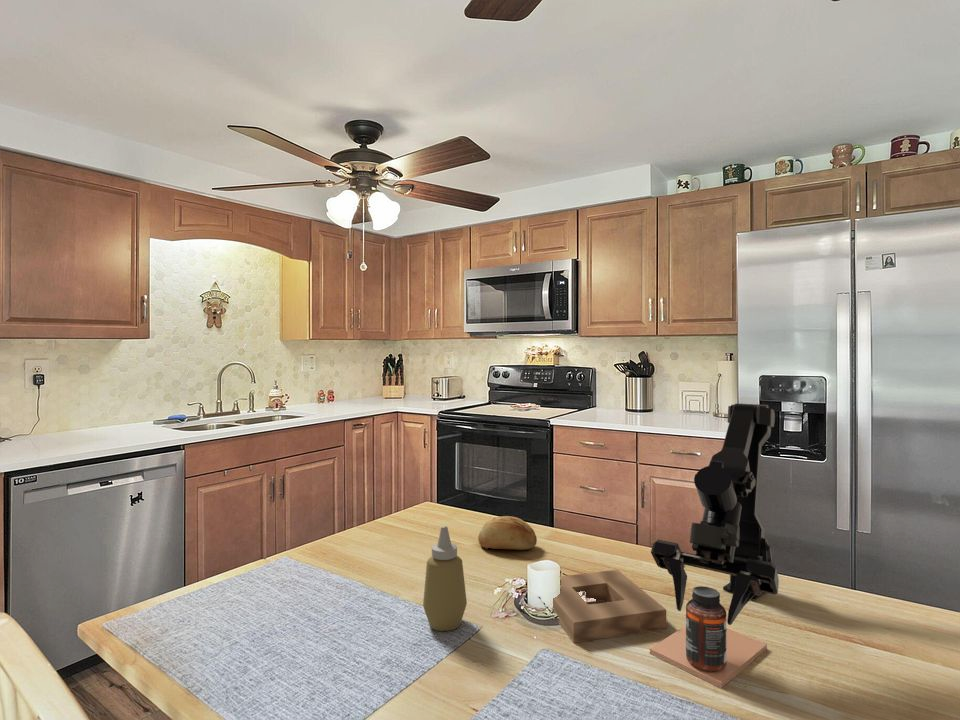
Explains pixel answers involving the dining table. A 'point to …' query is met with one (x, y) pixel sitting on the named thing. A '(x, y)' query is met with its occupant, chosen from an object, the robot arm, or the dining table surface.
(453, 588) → the squeeze bottle
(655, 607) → the walnut holder
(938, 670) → the dining table surface
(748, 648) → the terracotta tile
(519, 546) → the bread roll
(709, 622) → the supplement bottle
